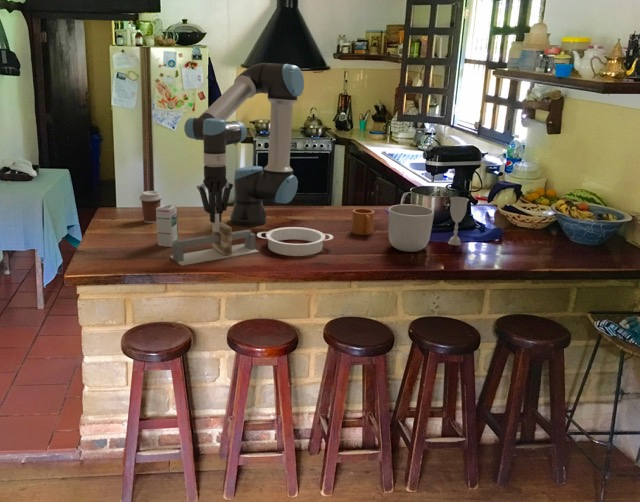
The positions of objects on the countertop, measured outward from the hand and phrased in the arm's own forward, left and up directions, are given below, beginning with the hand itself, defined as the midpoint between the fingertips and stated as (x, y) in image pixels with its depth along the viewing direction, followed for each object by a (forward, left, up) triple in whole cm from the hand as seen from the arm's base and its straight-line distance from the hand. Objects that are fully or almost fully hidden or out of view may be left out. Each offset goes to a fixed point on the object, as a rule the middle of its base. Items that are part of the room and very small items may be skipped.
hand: (215, 230), depth 228 cm
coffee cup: (+4, -51, -9) cm, 52 cm away
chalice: (-88, +32, -9) cm, 94 cm away
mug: (-64, +4, -9) cm, 64 cm away
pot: (-29, +6, -9) cm, 32 cm away
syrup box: (+10, -19, -9) cm, 23 cm away
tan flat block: (-2, 0, -8) cm, 8 cm away
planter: (-67, +28, -9) cm, 73 cm away
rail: (0, 0, -9) cm, 9 cm away
